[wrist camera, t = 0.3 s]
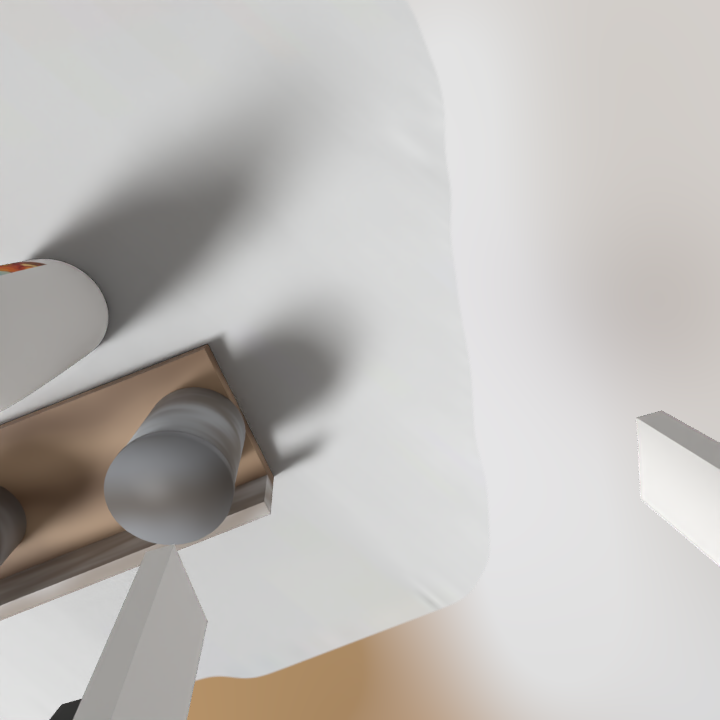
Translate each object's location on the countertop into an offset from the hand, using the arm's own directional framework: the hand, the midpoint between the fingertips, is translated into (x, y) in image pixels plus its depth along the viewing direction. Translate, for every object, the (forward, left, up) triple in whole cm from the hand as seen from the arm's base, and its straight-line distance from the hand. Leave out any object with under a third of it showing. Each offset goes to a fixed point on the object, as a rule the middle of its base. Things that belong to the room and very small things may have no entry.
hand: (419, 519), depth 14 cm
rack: (+5, -24, -27) cm, 36 cm away
